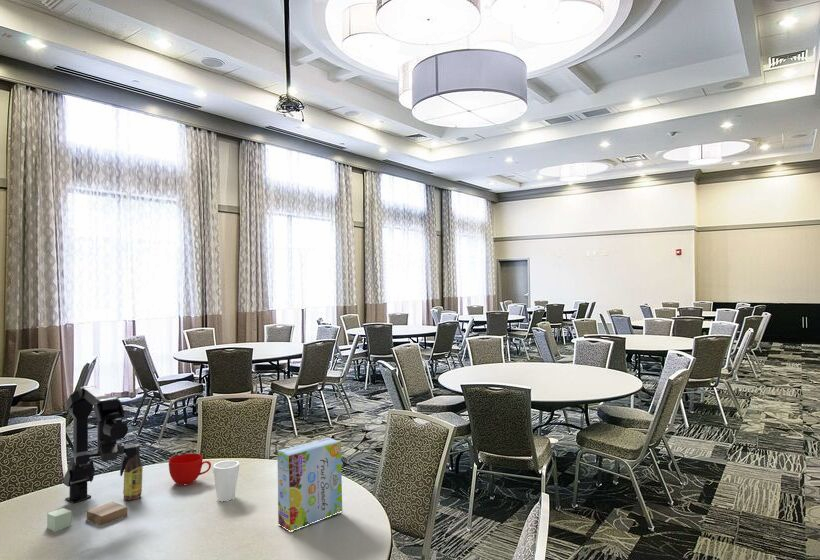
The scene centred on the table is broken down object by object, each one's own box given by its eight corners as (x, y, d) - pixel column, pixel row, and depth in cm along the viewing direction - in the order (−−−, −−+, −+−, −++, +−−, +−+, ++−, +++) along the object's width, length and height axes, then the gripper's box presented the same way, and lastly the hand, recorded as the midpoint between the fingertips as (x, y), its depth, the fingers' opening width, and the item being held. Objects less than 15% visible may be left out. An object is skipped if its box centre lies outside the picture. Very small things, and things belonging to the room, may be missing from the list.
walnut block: (86, 521, 178) (86, 510, 178) (112, 511, 185) (112, 501, 186) (101, 526, 173) (101, 516, 173) (127, 516, 181) (127, 506, 181)
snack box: (328, 506, 189) (329, 436, 189) (343, 514, 182) (343, 441, 183) (276, 525, 173) (276, 449, 174) (289, 534, 167) (290, 454, 168)
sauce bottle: (133, 501, 193) (134, 448, 193) (119, 500, 194) (120, 447, 195) (145, 494, 199) (146, 443, 200) (132, 493, 201) (132, 442, 201)
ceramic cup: (204, 488, 206) (204, 463, 206) (162, 488, 206) (162, 463, 206) (216, 477, 219) (216, 453, 219) (177, 476, 219) (177, 453, 219)
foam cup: (207, 501, 193) (207, 466, 194) (224, 492, 202) (225, 459, 202) (227, 505, 190) (227, 469, 190) (244, 495, 198) (244, 462, 199)
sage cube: (47, 528, 171) (47, 513, 172) (63, 522, 176) (63, 507, 176) (54, 531, 169) (55, 516, 169) (71, 525, 173) (71, 511, 173)
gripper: (77, 444, 168) (76, 492, 168) (141, 434, 179) (140, 479, 179) (74, 436, 177) (73, 481, 176) (135, 427, 188) (134, 470, 188)
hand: (106, 478), depth 180 cm, fingers open, 9 cm apart
